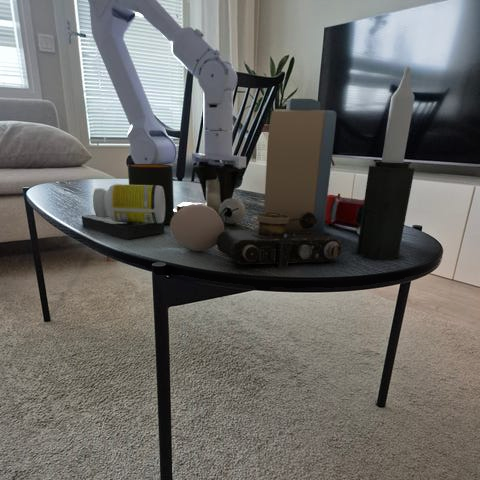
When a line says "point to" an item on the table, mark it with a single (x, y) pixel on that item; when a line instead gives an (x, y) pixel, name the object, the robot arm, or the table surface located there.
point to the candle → (389, 183)
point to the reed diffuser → (232, 211)
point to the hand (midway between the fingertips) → (217, 201)
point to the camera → (279, 242)
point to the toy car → (344, 211)
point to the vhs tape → (121, 227)
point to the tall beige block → (299, 161)
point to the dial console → (196, 203)
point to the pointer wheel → (213, 193)
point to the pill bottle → (130, 203)
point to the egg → (196, 227)
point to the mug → (155, 182)
